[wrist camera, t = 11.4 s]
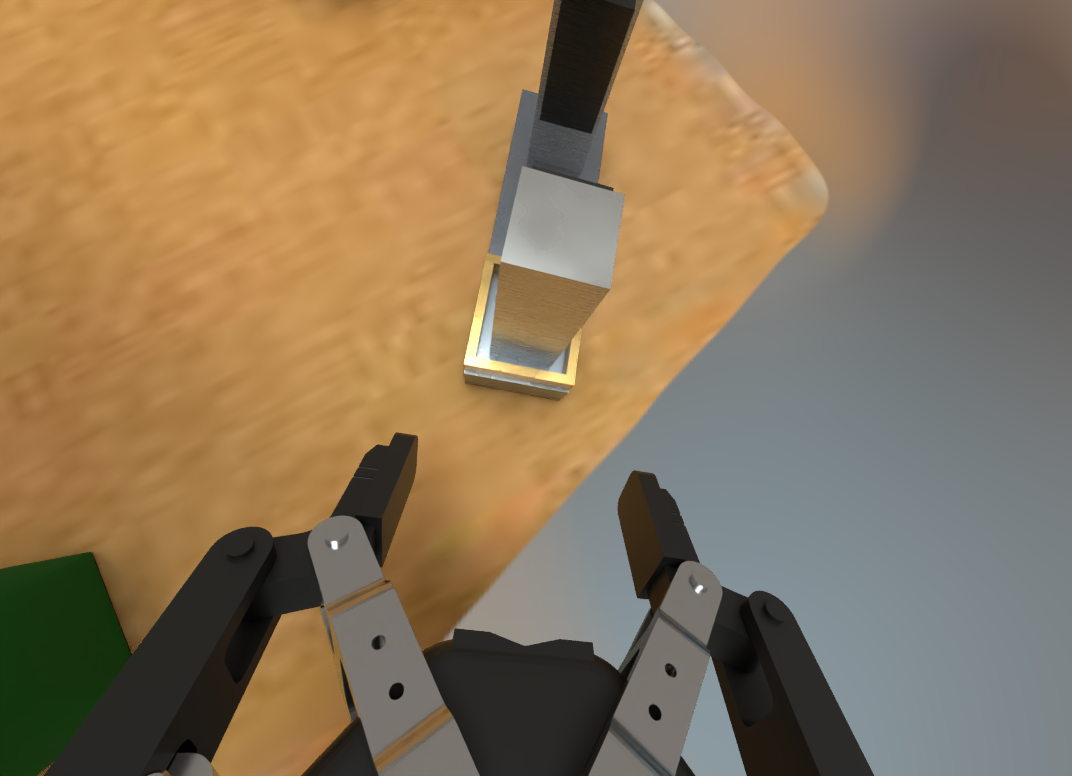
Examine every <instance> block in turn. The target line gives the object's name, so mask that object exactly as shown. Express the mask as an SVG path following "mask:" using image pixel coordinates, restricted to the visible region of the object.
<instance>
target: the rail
mask: <svg viewBox="0 0 1072 776" xmlns="http://www.w3.org/2000/svg"><path fill="white" fill-rule="evenodd" d="M642 3H643V0H554V5H553V11H552V17H551V23H550V28H549V34H548V40H547V46H546V52H545V58H544V64H543V70H542V76H541V82H540V88H539V94H538V93H534V92H530V91H527V90H522V94H521V99H520V104H519V109H518V114H517V119H516V123H515V128H514V133H513V138H512V143H511V148H510V152H509V157H508V162H507V167H506V172H505V177H504V181H503V186H502V191H501V196H500V201H499V206H498V211H497V215H496V220H495V225H494V230H493V235H492V240H491V244H490V249H489V253H487V256H486V260H485V265H484V270H483V275H482V280H481V284H480V289H479V294H478V299H477V304H476V309H475V313H474V318H473V323H472V328H471V333H470V337H469V342H468V347H467V352H466V357H465V361H464V369H465V370H464V378H465V383H469V384H474V385H480V386H485V387H490V388H496V389H501V390H506V391H512V392H517V393H523V394H528V395H533V396H539V397H544V398H549V399H555V400H560V399H561V398H563V397H564V396H565V395H566V394H568V392H569V389H570V388H571V387H573V386H574V383H575V375H576V368H577V361H578V354H579V346H580V339H581V332H582V327H581V328H580V330H579V331H578V332H577V334H576V335H575V336H574V338H573V339H572V340H571V342H570V343H569V344H568V345H567V347H566V348H565V349H564V351H563V352H562V353H561V355H560V356H559V357H558V359H557V360H556V361H555V363H554V364H553V365H552V366H551V367H547V366H542V365H538V364H533V363H529V362H524V361H520V360H515V359H511V358H506V357H502V356H497V355H493V354H489V352H490V344H491V336H492V327H493V319H494V311H495V303H496V295H497V286H498V278H499V270H500V262H501V257H502V253H503V249H504V244H505V240H506V235H507V231H508V227H509V222H510V218H511V213H512V209H513V205H514V200H515V196H516V192H517V187H518V183H519V178H520V174H521V170H522V166H524V167H528V168H532V165H534V166H537V167H541V168H544V169H548V170H551V171H555V172H558V173H562V174H565V175H569V176H573V177H576V178H580V179H583V180H587V181H590V182H594V183H597V184H598V179H599V172H600V165H601V158H602V151H603V143H604V136H605V129H606V122H607V115H608V113H605V112H603V111H604V108H605V106H606V103H607V100H608V97H609V95H610V92H611V89H612V86H613V83H614V81H615V78H616V75H617V72H618V70H619V67H620V64H621V61H622V58H623V56H624V53H625V50H626V47H627V45H628V42H629V39H630V36H631V33H632V31H633V28H634V25H635V22H636V20H637V17H638V14H639V11H640V9H641V6H642Z"/></svg>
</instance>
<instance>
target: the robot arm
mask: <svg viewBox="0 0 1072 776" xmlns="http://www.w3.org/2000/svg"><path fill="white" fill-rule="evenodd" d="M417 448H418V436H416V435H409V434H403V433H395V435H394V437H393V439H392V441H391V443H390V445H389V446H383V445H376V446H375V447H374V448H373V449H371V450H370V451H369V452H367V453H366V454H365V456H364V458H363V460H362V461H361V463H360V465H359V468H358V469H357V470H356V472H355V474H354V477H353V478H352V479H351V481H350V483H349V485H348V487H347V488H346V490H345V492H344V494H343V496H342V497H341V499H340V501H339V503H338V505H337V506H336V508H335V510H334V512H333V513H332V515H331V516H330V518H328V519H326V520H324V521H322V522H321V523H319V524H318V525H317V526H316V527H315V528H314V529H313V530H310V531H308V532H304V533H300V534H294V535H287V536H280V537H274V538H273V537H272V535H271V533H270V532H269V531H267V530H266V529H263V528H260V527H245V528H241V529H237V530H235V531H232V532H230V533H228V534H226V535H225V536H223V537H222V538H220V539H219V540H218V541H217V542H215V543H214V545H213V546H212V547H211V548H210V549H209V551H208V552H207V554H206V555H205V556H204V558H203V559H202V560H201V562H200V563H199V565H198V566H197V567H196V569H195V570H194V571H193V573H192V574H191V575H190V577H189V578H188V580H187V581H186V582H185V584H184V585H183V586H182V588H181V589H180V590H179V592H178V593H177V595H176V596H175V597H174V599H173V600H172V601H171V603H170V604H169V606H168V607H167V608H166V610H165V611H164V612H163V614H162V615H161V616H160V618H159V619H158V621H157V622H156V623H155V625H154V626H153V627H152V629H151V630H150V631H149V633H148V634H147V636H146V637H145V638H144V640H143V641H142V642H141V644H140V645H139V647H138V648H137V649H136V651H135V652H134V653H133V655H132V656H131V657H130V659H129V660H128V662H127V663H126V664H125V666H124V667H123V668H122V670H121V671H120V673H119V674H118V675H117V677H116V678H115V679H114V681H113V682H112V683H111V685H110V686H109V688H108V689H107V690H106V692H105V693H104V694H103V696H102V697H101V698H100V700H99V701H98V703H97V704H96V705H95V707H94V708H93V709H92V711H91V712H90V714H89V715H88V716H87V718H86V719H85V720H84V722H83V723H82V724H81V726H80V727H79V729H78V730H77V731H76V733H75V734H74V735H73V737H72V738H71V739H70V741H69V742H68V744H67V745H66V746H65V748H64V749H63V750H62V752H61V753H60V755H59V756H58V757H57V759H56V760H55V761H54V763H53V764H52V765H51V767H50V768H49V770H48V771H47V772H46V774H45V775H44V776H220V775H219V774H218V773H217V771H216V770H215V769H214V768H213V766H212V765H211V764H210V763H211V761H212V759H213V757H214V755H215V753H216V751H217V749H218V746H219V744H220V742H221V740H222V738H223V736H224V734H225V732H226V730H227V728H228V726H229V723H230V721H231V719H232V717H233V715H234V713H235V711H236V709H237V707H238V705H239V703H240V700H241V698H242V696H243V694H244V692H245V690H246V688H247V686H248V684H249V682H250V680H251V677H252V675H253V673H254V671H255V669H256V667H257V665H258V663H259V661H260V659H261V657H262V654H263V652H264V650H265V648H266V646H267V644H268V642H269V640H270V638H271V636H272V634H273V632H274V629H275V627H276V625H277V623H278V621H279V619H280V617H281V615H282V614H286V613H290V612H295V611H300V610H304V609H309V608H314V607H318V606H319V607H320V611H321V615H322V618H323V622H324V625H325V629H326V632H327V636H328V639H329V643H330V646H331V650H332V654H333V657H334V661H335V665H336V669H337V673H338V678H339V682H340V686H341V689H342V693H343V697H344V700H345V704H346V707H347V711H348V715H349V718H350V722H351V723H350V724H349V725H348V727H347V728H346V729H345V730H344V731H343V732H342V733H341V734H340V735H339V736H338V737H337V738H336V739H335V740H334V741H333V742H332V744H331V745H330V746H329V747H328V748H327V749H326V750H325V751H324V752H323V753H322V754H321V755H320V756H319V757H318V758H317V759H316V760H315V762H314V763H313V764H312V765H311V766H310V767H309V768H308V769H307V770H306V771H305V772H304V773H303V774H302V775H301V776H695V775H694V773H693V772H692V770H691V769H690V768H689V766H688V765H687V764H686V762H685V761H684V759H683V758H682V757H681V753H682V750H683V746H684V743H685V740H686V736H687V733H688V730H689V726H690V722H691V719H692V716H693V712H694V709H695V706H696V702H697V699H698V696H699V692H700V689H701V686H702V682H703V679H704V676H705V672H706V669H707V665H708V662H709V658H710V656H711V657H712V660H713V664H714V667H715V671H716V674H717V677H718V681H719V683H720V687H721V691H722V694H723V697H724V701H725V704H726V707H727V711H728V714H729V718H730V721H731V724H732V727H733V731H734V734H735V738H736V741H737V744H738V748H739V751H740V754H741V758H742V761H743V764H744V768H745V771H746V774H747V776H874V774H873V773H872V771H871V769H870V766H869V764H868V762H867V760H866V758H865V757H864V755H863V753H862V751H861V749H860V747H859V745H858V743H857V741H856V739H855V737H854V735H853V733H852V731H851V729H850V727H849V725H848V723H847V721H846V719H845V717H844V715H843V713H842V711H841V709H840V707H839V705H838V703H837V701H836V699H835V697H834V695H833V693H832V691H831V689H830V687H829V685H828V683H827V681H826V679H825V677H824V675H823V673H822V671H821V669H820V667H819V665H818V663H817V661H816V659H815V657H814V655H813V653H812V651H811V649H810V647H809V645H808V643H807V641H806V639H805V637H804V635H803V633H802V631H801V629H800V627H799V625H798V623H797V621H796V620H795V617H794V616H793V614H792V612H791V611H790V610H789V608H788V607H787V606H786V605H785V604H784V603H783V602H782V601H781V600H779V599H778V598H777V597H775V596H773V595H771V594H770V593H767V592H764V591H755V592H753V593H752V594H751V595H750V596H749V597H748V598H747V597H745V596H743V595H741V594H738V593H736V592H733V591H731V590H729V589H727V588H725V587H723V586H721V584H720V582H719V580H718V579H717V577H716V576H715V575H714V574H713V572H712V571H710V570H709V569H708V568H707V567H705V566H704V565H702V564H700V562H699V559H698V557H697V554H696V552H695V550H694V547H693V544H692V542H691V539H690V537H689V534H688V532H687V529H686V527H685V526H684V522H683V519H682V517H681V516H680V512H679V509H678V507H677V504H676V502H675V500H674V499H673V498H672V496H671V495H670V494H669V493H668V491H667V490H666V489H660V487H659V484H658V481H657V479H656V476H655V475H654V474H653V473H647V472H641V471H632V473H631V474H630V476H629V478H628V481H627V483H626V485H625V487H624V489H623V491H622V493H621V496H620V498H619V502H618V515H619V520H620V525H621V529H622V533H623V537H624V542H625V546H626V551H627V555H628V559H629V564H630V568H631V573H632V577H633V582H634V586H635V591H636V595H637V598H640V599H649V601H650V605H651V608H650V609H649V611H648V613H647V615H646V617H645V619H644V621H643V623H642V625H641V627H640V629H639V631H638V633H637V635H636V637H635V639H634V641H633V643H632V645H631V647H630V649H629V651H628V653H627V655H626V657H625V659H624V661H623V662H622V664H621V666H620V667H619V669H618V670H616V669H615V668H614V667H613V666H612V665H611V664H609V663H608V662H607V661H605V660H604V659H602V658H600V657H598V656H596V655H594V650H593V643H592V642H581V641H572V640H562V639H559V640H554V641H549V642H544V643H539V644H534V645H529V646H523V645H520V644H518V643H515V642H513V641H510V640H508V639H505V638H503V637H500V636H498V635H496V634H493V633H491V632H484V631H474V630H464V629H455V630H454V635H453V639H452V640H447V641H443V642H440V643H437V644H435V645H433V646H431V647H429V648H427V649H425V650H424V651H421V649H420V646H419V644H418V642H417V639H416V637H415V635H414V632H413V630H412V628H411V626H410V623H409V621H408V619H407V616H406V614H405V612H404V609H403V607H402V605H401V602H400V600H399V598H398V596H397V593H396V591H395V589H394V587H393V585H392V583H391V582H390V581H386V580H385V578H384V576H383V573H382V571H381V569H380V567H383V564H384V561H385V558H386V556H387V553H388V550H389V547H390V545H391V542H392V539H393V536H394V534H395V531H396V528H397V525H398V523H399V520H400V517H401V515H402V512H403V509H404V506H405V504H406V501H407V498H408V495H409V493H410V490H411V487H412V484H413V481H414V477H415V473H416V465H417Z"/></svg>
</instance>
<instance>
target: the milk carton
mask: <svg viewBox="0 0 1072 776" xmlns="http://www.w3.org/2000/svg"><path fill="white" fill-rule="evenodd" d="M130 657H131V653H130V651H129V648H128V646H127V643H126V640H125V638H124V635H123V633H122V630H121V628H120V625H119V622H118V620H117V617H116V615H115V612H114V609H113V607H112V604H111V602H110V599H109V597H108V594H107V591H106V589H105V586H104V584H103V581H102V578H101V576H100V573H99V571H98V568H97V566H96V563H95V560H94V558H93V555H92V553H91V552H87V553H82V554H77V555H72V556H66V557H61V558H56V559H51V560H45V561H40V562H35V563H29V564H24V565H19V566H13V567H8V568H3V569H0V776H37V775H38V774H39V773H40V772H42V771H43V770H44V769H45V768H46V767H48V766H49V765H50V764H51V763H52V762H54V761H55V760H56V759H57V757H58V756H59V755H60V753H61V752H62V750H63V749H64V748H65V746H66V745H67V744H68V742H69V741H70V739H71V738H72V737H73V735H74V734H75V733H76V731H77V730H78V729H79V727H80V726H81V724H82V723H83V722H84V720H85V719H86V718H87V716H88V715H89V714H90V712H91V711H92V709H93V708H94V707H95V705H96V704H97V703H98V701H99V700H100V698H101V697H102V696H103V694H104V693H105V692H106V690H107V689H108V688H109V686H110V685H111V683H112V682H113V681H114V679H115V678H116V677H117V675H118V674H119V673H120V671H121V670H122V668H123V667H124V666H125V664H126V663H127V662H128V660H129V659H130Z"/></svg>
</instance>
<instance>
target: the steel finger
mask: <svg viewBox="0 0 1072 776" xmlns="http://www.w3.org/2000/svg"><path fill="white" fill-rule="evenodd" d="M613 189H614V188H611V187H608V186H604V185H601V184H597V183H594V182H590V181H587V180H583V179H580V178H576V177H573V176H569V175H565V174H562V173H558V172H555V171H551V170H548V169H544V168H541V167H537V166H534V165H532V168H528V167H524V166H522V170H521V174H520V178H519V183H518V187H517V192H516V196H515V200H514V205H513V209H512V213H511V218H510V222H509V227H508V231H507V235H506V240H505V244H504V249H503V253H502V257H501V262H500V270H499V278H498V286H497V295H496V303H495V311H494V319H493V327H492V336H491V344H490V352H489V354H493V355H497V356H502V357H506V358H511V359H515V360H520V361H524V362H529V363H533V364H538V365H542V366H547V367H551V366H552V365H553V364H554V363H555V361H556V360H557V359H558V357H559V356H560V355H561V353H562V352H563V351H564V349H565V348H566V347H567V345H568V344H569V343H570V342H571V340H572V339H573V338H574V336H575V335H576V334H577V332H578V331H579V330H580V328H581V327H582V326H583V324H584V323H585V322H586V321H587V319H588V318H589V317H590V315H591V314H592V313H593V311H594V310H595V309H596V307H597V306H598V305H599V303H600V302H601V301H602V300H603V298H604V297H605V296H606V294H607V293H608V292H609V290H610V289H611V282H612V276H613V269H614V262H615V256H616V249H617V243H618V236H619V229H620V223H621V216H622V209H623V203H624V196H625V195H624V194H620V193H617V192H613Z"/></svg>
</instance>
